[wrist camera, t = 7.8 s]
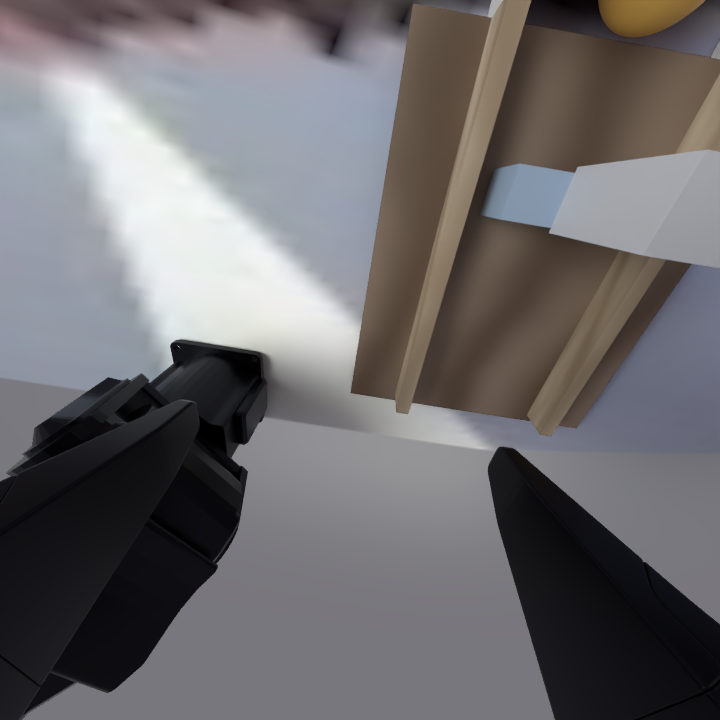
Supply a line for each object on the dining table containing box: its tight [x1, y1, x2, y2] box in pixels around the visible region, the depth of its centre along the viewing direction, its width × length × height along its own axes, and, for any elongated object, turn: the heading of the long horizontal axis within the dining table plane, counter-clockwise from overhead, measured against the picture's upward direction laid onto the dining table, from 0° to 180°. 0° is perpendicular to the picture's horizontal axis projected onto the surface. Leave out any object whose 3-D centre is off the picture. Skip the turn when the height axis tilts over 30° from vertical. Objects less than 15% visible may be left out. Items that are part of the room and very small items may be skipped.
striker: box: [480, 150, 720, 268], centre depth 11 cm, size 7×2×8 cm, turn 82°
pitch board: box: [351, 0, 720, 436], centre depth 16 cm, size 17×20×3 cm
